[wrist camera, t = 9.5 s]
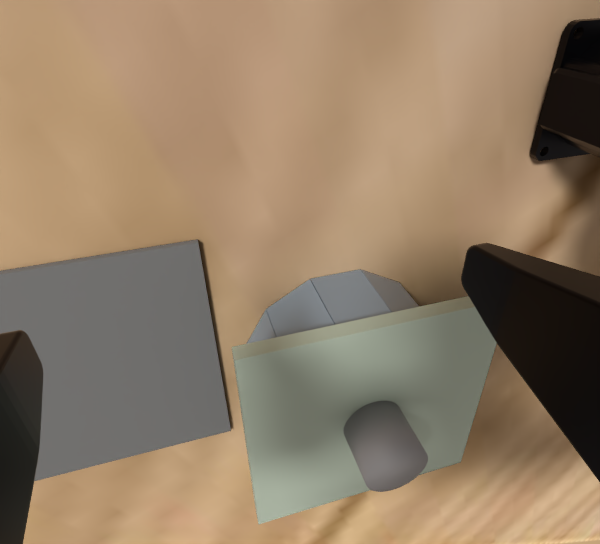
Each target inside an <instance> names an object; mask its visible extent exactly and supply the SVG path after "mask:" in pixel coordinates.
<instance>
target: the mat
mask: <svg viewBox="0 0 600 544" xmlns="http://www.w3.org/2000/svg"><path fill="white" fill-rule="evenodd" d="M17 330H22V331H25V332H26V333H27V334H28V336H29V338H30V340H31V342H32V344H33V346H34V348H35V350H36V352H37V354H38V357H39V359H40V361H41V363H42V367H43V394H42V414H41V434H40V448H39V456H38V462H37V468H36V474H35V479H34V481H37V480H41V479H45V478H48V477H52V476H56V475H60V474H64V473H68V472H72V471H76V470H80V469H83V468H87V467H91V466H95V465H99V464H103V463H107V462H111V461H115V460H118V459H122V458H126V457H130V456H134V455H138V454H142V453H146V452H150V451H154V450H157V449H161V448H165V447H169V446H173V445H177V444H181V443H185V442H189V441H192V440H196V439H200V438H204V437H208V436H212V435H216V434H220V433H224V432H227V431H231V428H230V422H229V416H228V411H227V405H226V399H225V393H224V388H223V382H222V376H221V370H220V365H219V359H218V353H217V347H216V342H215V336H214V330H213V324H212V319H211V313H210V307H209V301H208V295H207V290H206V284H205V278H204V272H203V267H202V261H201V255H200V249H199V244H198V239H197V240H191V241H185V242H179V243H172V244H166V245H160V246H154V247H147V248H141V249H135V250H128V251H122V252H116V253H110V254H103V255H97V256H91V257H85V258H78V259H72V260H66V261H60V262H53V263H47V264H41V265H34V266H28V267H22V268H16V269H9V270H3V271H0V334H1V333H6V332H12V331H17Z"/></svg>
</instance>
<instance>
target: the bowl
mask: <svg viewBox="0 0 600 544" xmlns="http://www.w3.org/2000/svg"><path fill="white" fill-rule="evenodd" d="M415 307H419V306H418V304H417V303H416V302H415V301H414V300H413V298H412V297H411V296H410V295H409V294H408V292H407V291H406V290H405V289H404V288H403V286H402V285H401V284H400V283H399V282H396V281H393V280H390V279H388V278H385V277H382V276H379V275H376V274H373V273H370V272H367V271H364V270H354V271H349V272H344V273H339V274H333V275H328V276H323V277H317V278H312V279H309V280H308V281H306V282H305V283H303V284H302V285H300V286H299V287H298V288H296V289H295V290H293V291H292V292H290V293H289V294H287V295H286V296H284V297H283V298H282V299H280V300H279V301H277V302H276V303H274V304H273V305H271V306H270V307H268V308H267V309H266V310H265V312H264V314H263V315H262V317H261V319H260V321H259V323H258V324H257V326H256V328H255V330H254V331H253V333H252V335H251V337H250V339H249V340H248V342H247V344H248V343H253V342H257V341H262V340H267V339H271V338H276V337H281V336H285V335H290V334H295V333H299V332H304V331H308V330H313V329H318V328H322V327H327V326H332V325H336V324H341V323H346V322H350V321H355V320H359V319H364V318H369V317H373V316H378V315H383V314H387V313H392V312H397V311H401V310H406V309H410V308H415Z"/></svg>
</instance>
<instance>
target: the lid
mask: <svg viewBox="0 0 600 544" xmlns="http://www.w3.org/2000/svg"><path fill="white" fill-rule="evenodd" d="M496 344H497V342H496V341H495V340H494V338H493V336H492V335H491V333H490V332H489V330H488V328H487V326H486V325H485V323H484V321H483V320H482V318H481V316H480V315H479V313H478V311H477V310H476V308H475V306H474V304H473V303H472V301H471V299H470V298H469V296H466V297H461V298H457V299H452V300H447V301H443V302H438V303H434V304H429V305H424V306H420V307H415V308H410V309H406V310H401V311H397V312H392V313H387V314H383V315H378V316H373V317H369V318H364V319H359V320H355V321H350V322H346V323H341V324H336V325H332V326H327V327H322V328H318V329H313V330H308V331H304V332H299V333H295V334H290V335H285V336H281V337H276V338H271V339H267V340H262V341H257V342H253V343H248V344H244V345H239V346H234V347H232V352H233V359H234V366H235V373H236V379H237V386H238V393H239V400H240V406H241V413H242V420H243V427H244V433H245V440H246V447H247V454H248V461H249V467H250V474H251V481H252V488H253V494H254V501H255V508H256V514H257V518H258V523H259V524H262V523H265V522H268V521H271V520H275V519H278V518H281V517H284V516H288V515H291V514H294V513H297V512H301V511H304V510H307V509H310V508H314V507H317V506H320V505H323V504H327V503H330V502H333V501H336V500H340V499H343V498H346V497H349V496H353V495H356V494H359V493H362V492H366V491H369V490H373V491H378V492H383V491H389V490H393V489H396V488H399V487H401V486H403V485H405V484H407V483H409V482H410V481H412V480H413V479H415V478H416V477H417V476H418V475H421V474H424V473H427V472H431V471H434V470H437V469H440V468H444V467H447V466H450V465H453V464H457V463H460V462H461V459H462V456H463V453H464V449H465V446H466V443H467V440H468V436H469V433H470V430H471V426H472V423H473V420H474V417H475V413H476V410H477V407H478V403H479V400H480V397H481V393H482V390H483V387H484V384H485V380H486V377H487V374H488V370H489V367H490V364H491V361H492V357H493V354H494V351H495V347H496Z"/></svg>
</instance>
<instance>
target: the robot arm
mask: <svg viewBox="0 0 600 544" xmlns="http://www.w3.org/2000/svg"><path fill="white" fill-rule="evenodd" d="M576 29H577V32H576V34H575V36H574V32H575V30H576ZM542 148H543V150H542V151H541V149H542ZM540 151H541V152H540ZM584 154H593V155H595V156H598V157H600V18H598V19H583V20H574V21H571V22H570V23H569V24H568V25H567V26H566V27H565V29H564V31H563V34H562V38H561V42H560V45H559V49H558V53H557V56H556V60H555V64H554V67H553V71H552V75H551V78H550V82H549V86H548V89H547V93H546V97H545V100H544V104H543V108H542V111H541V115H540V119H539V122H538V126H537V130H536V133H535V137H534V141H533V144H532V148H531V156H532V157H533V158H535V159H537V160H539V161H543V160H550V159H557V158H564V157H571V156H577V155H584ZM461 280H462V285H463V287H464V289H465V291H466V293H467V294H468V296H469V298H470V299H471V301H472V303H473V304H474V306H475V308H476V310H477V311H478V313H479V315H480V316H481V318H482V320H483V321H484V323H485V325H486V326H487V328H488V330H489V332H490V333H491V335H492V336H493V338H494V340H495V341H496V342H497V344H498V345H499V347H500V348H501V350H502V351H503V352H504V354H505V355H506V356H507V358H508V359H509V360H510V362H511V363H512V364H513V366H514V367H515V368H516V370H517V371H518V372H519V374H520V375H521V377H522V378H523V379H524V381H525V382H526V383H527V385H528V386H529V387H530V389H531V390H532V391H533V393H534V394H535V395H536V397H537V398H538V399H539V401H540V402H541V403H542V405H543V406H544V408H545V409H546V410H547V412H548V413H549V414H550V416H551V417H552V418H553V420H554V421H555V422H556V424H557V425H558V426H559V428H560V429H561V430H562V432H563V433H564V435H565V436H566V437H567V439H568V440H569V441H570V443H571V444H572V445H573V447H574V448H575V449H576V451H577V452H578V453H579V455H580V456H581V457H582V459H583V460H584V462H585V463H586V464H587V466H588V467H589V468H590V470H591V471H592V472H593V474H594V475H595V476H596V478H597V479H598V480H599V482H600V277H599V276H595V275H592V274H589V273H586V272H582V271H579V270H576V269H572V268H569V267H566V266H562V265H559V264H556V263H553V262H549V261H546V260H543V259H539V258H536V257H533V256H529V255H526V254H523V253H520V252H516V251H513V250H510V249H506V248H503V247H500V246H496V245H493V244H490V243H483V244H478V245H473V246H471V247H469V249H468V250H467V253H466V258H465V262H464V267H463V271H462V276H461ZM42 394H43V367H42V363H41V361H40V359H39V357H38V354H37V352H36V350H35V348H34V346H33V344H32V342H31V340H30V338H29V336H28V334H27V333H26V332H25V331H22V330H17V331H12V332H6V333H1V334H0V544H23V539H24V534H25V528H26V523H27V518H28V512H29V507H30V501H31V496H32V490H33V485H34V479H35V474H36V468H37V462H38V456H39V448H40V434H41V414H42Z"/></svg>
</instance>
